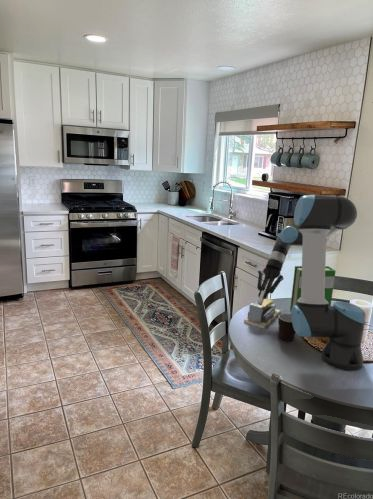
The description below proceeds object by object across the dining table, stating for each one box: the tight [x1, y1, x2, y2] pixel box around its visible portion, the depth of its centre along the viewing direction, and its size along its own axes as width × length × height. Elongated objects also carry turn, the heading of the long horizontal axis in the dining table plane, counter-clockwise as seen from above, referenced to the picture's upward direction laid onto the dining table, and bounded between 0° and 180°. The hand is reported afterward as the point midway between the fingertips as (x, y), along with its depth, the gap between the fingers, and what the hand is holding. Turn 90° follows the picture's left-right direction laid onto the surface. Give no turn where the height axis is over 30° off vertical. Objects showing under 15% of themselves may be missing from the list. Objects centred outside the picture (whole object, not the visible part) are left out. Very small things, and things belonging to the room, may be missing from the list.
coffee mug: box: [277, 313, 297, 343], centre depth 168 cm, size 12×9×10 cm
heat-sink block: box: [247, 302, 277, 324], centre depth 186 cm, size 19×9×8 cm, turn 147°
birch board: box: [243, 308, 282, 329], centre depth 188 cm, size 22×10×2 cm, turn 147°
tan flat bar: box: [256, 298, 274, 312], centre depth 187 cm, size 2×5×14 cm
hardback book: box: [289, 265, 336, 312], centre depth 193 cm, size 18×7×24 cm, turn 95°
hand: (259, 303), depth 182 cm, fingers closed
